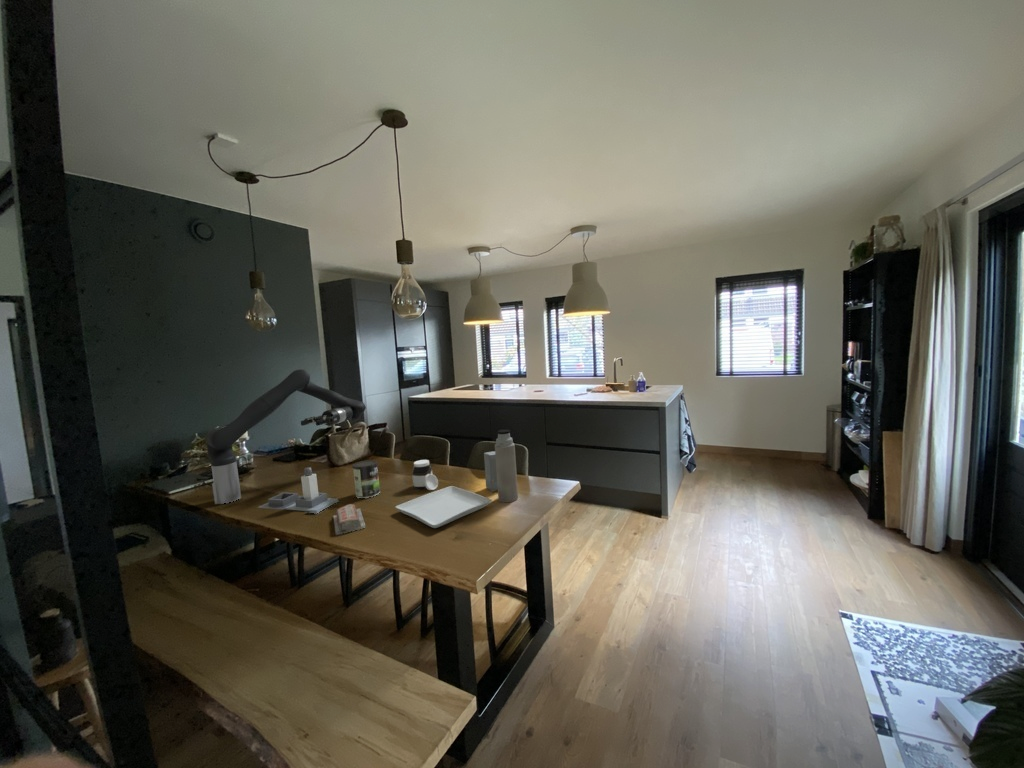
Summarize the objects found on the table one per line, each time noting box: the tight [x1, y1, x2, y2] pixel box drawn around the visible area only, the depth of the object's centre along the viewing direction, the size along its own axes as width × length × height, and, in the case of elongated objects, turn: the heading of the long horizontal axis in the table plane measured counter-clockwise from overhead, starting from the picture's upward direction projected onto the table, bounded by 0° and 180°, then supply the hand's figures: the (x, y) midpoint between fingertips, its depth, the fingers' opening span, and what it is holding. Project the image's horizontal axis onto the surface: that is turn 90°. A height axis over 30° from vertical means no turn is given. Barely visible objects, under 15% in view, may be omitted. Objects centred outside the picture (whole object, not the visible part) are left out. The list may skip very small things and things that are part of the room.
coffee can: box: [352, 459, 381, 499], centre depth 178 cm, size 10×10×14 cm
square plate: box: [394, 485, 493, 529], centre depth 155 cm, size 27×27×4 cm
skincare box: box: [483, 450, 498, 493], centre depth 176 cm, size 8×7×16 cm
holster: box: [256, 492, 303, 510], centre depth 174 cm, size 14×14×4 cm
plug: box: [300, 466, 320, 500], centre depth 168 cm, size 4×4×15 cm
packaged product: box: [333, 503, 366, 536], centre depth 150 cm, size 18×5×10 cm
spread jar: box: [411, 459, 439, 491], centre depth 182 cm, size 12×11×12 cm
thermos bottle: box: [494, 429, 519, 503], centre depth 162 cm, size 8×8×28 cm
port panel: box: [284, 492, 339, 515], centre depth 168 cm, size 16×12×4 cm
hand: (308, 423), depth 184 cm, fingers open, 8 cm apart
